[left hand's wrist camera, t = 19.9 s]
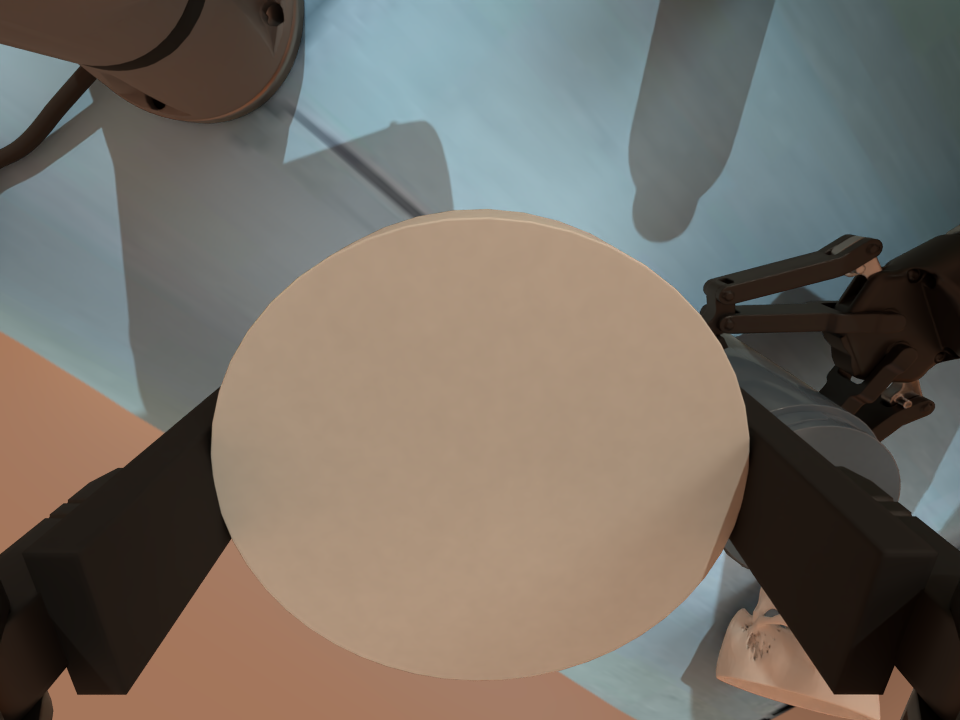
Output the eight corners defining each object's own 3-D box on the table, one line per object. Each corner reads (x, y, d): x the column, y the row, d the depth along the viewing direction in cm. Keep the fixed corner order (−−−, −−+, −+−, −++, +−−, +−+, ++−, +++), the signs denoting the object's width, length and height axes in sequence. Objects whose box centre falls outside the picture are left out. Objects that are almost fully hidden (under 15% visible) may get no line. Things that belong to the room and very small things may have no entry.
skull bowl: (890, 579, 47) (929, 737, 40) (763, 600, 58) (775, 728, 50) (805, 534, 45) (828, 692, 38) (690, 564, 56) (690, 692, 48)
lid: (337, 647, 14) (318, 713, 13) (169, 277, 11) (109, 298, 9) (725, 578, 14) (761, 639, 12) (689, 149, 10) (734, 144, 8)
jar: (662, 299, 40) (787, 387, 24) (766, 349, 41) (951, 465, 25) (599, 402, 43) (672, 543, 27) (698, 446, 44) (823, 605, 28)
